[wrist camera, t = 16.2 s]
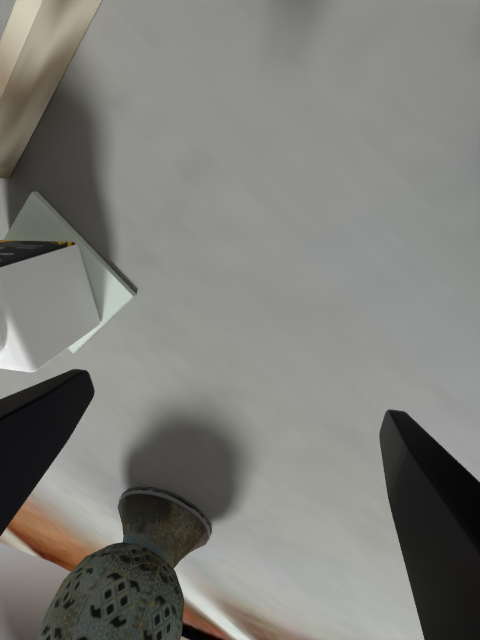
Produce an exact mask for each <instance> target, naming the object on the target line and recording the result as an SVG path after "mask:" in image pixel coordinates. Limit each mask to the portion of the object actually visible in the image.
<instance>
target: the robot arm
mask: <svg viewBox="0 0 480 640" xmlns="http://www.w3.org/2000/svg"><path fill="white" fill-rule="evenodd" d="M94 392H95V391H94V387H93V384H92V381H91V378H90V375H89V373H88V372H87V371H86V370H80V369H73V370H70V371H68V372H66V373H63V374H61V375H58V376H56V377H53V378H51V379H49V380H46V381H44V382H41V383H39V384H36V385H34V386H32V387H29V388H27V389H24V390H22V391H19V392H17V393H15V394H12V395H10V396H7V397H5V398H2V399H0V536H1V535H2V533H3V532H4V530H5V529H6V528H7V526H8V525H9V523H10V522H11V520H12V519H13V518H14V516H15V515H16V513H17V512H18V511H19V509H20V508H21V506H22V505H23V503H24V502H25V501H26V499H27V498H28V496H29V495H30V494H31V492H32V491H33V489H34V488H35V487H36V485H37V484H38V482H39V481H40V479H41V478H42V477H43V475H44V474H45V472H46V471H47V470H48V468H49V467H50V465H51V464H52V462H53V461H54V460H55V458H56V457H57V455H58V454H59V453H60V451H61V450H62V448H63V447H64V445H65V444H66V442H67V441H68V439H69V438H70V436H71V434H72V433H73V431H74V429H75V428H76V426H77V424H78V423H79V421H80V419H81V417H82V416H83V414H84V412H85V411H86V409H87V407H88V405H89V404H90V402H91V400H92V399H93V396H94ZM379 437H380V446H381V453H382V460H383V466H384V473H385V480H386V487H387V493H388V499H389V503H390V508H391V512H392V516H393V519H394V523H395V527H396V531H397V535H398V539H399V543H400V547H401V550H402V554H403V558H404V562H405V566H406V570H407V574H408V577H409V581H410V585H411V589H412V593H413V597H414V601H415V604H416V608H417V612H418V616H419V620H420V624H421V628H422V631H423V635H424V639H425V640H480V482H479V481H478V480H477V479H476V478H475V477H474V476H473V475H472V474H471V473H470V472H468V471H467V470H466V469H465V468H464V467H463V466H462V465H461V464H460V463H459V462H458V461H457V460H456V459H455V458H454V457H453V456H452V455H450V454H449V453H448V452H447V451H446V450H445V449H444V448H443V447H442V446H441V445H440V444H439V443H438V442H437V441H436V440H435V439H434V438H432V437H431V436H430V435H429V434H428V433H427V432H426V431H425V430H424V429H423V428H422V427H421V426H420V425H419V424H418V423H417V422H415V421H414V420H413V419H412V418H411V417H410V416H409V415H408V414H407V413H406V412H404V411H398V410H387V411H386V413H385V416H384V419H383V423H382V426H381V429H380V435H379Z"/></svg>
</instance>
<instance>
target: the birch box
mask: <svg viewBox="0 0 480 640" xmlns="http://www.w3.org/2000/svg"><path fill="white" fill-rule="evenodd" d="M101 1H102V0H16V3H15V5H14V8H13V10H12V13H11V16H10V18H9V21H8V23H7V26H6V28H5V31H4V34H3V36H2V39H1V41H0V178H10V176H11V174H12V172H13V171H14V169H15V167H16V165H17V163H18V161H19V159H20V157H21V155H22V153H23V151H24V149H25V147H26V146H27V144H28V142H29V140H30V138H31V136H32V134H33V132H34V130H35V128H36V126H37V124H38V122H39V121H40V119H41V117H42V115H43V113H44V111H45V109H46V107H47V105H48V103H49V101H50V99H51V97H52V95H53V94H54V92H55V90H56V88H57V86H58V84H59V82H60V80H61V78H62V76H63V74H64V72H65V70H66V69H67V67H68V65H69V63H70V61H71V59H72V57H73V55H74V53H75V51H76V49H77V47H78V45H79V43H80V42H81V40H82V38H83V36H84V34H85V32H86V30H87V28H88V26H89V24H90V22H91V20H92V18H93V17H94V15H95V13H96V11H97V9H98V7H99V5H100V3H101Z"/></svg>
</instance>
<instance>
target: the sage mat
mask: <svg viewBox="0 0 480 640" xmlns="http://www.w3.org/2000/svg"><path fill="white" fill-rule="evenodd" d="M4 240H16V241H64V242H76V243H77V244H78V246H79V248H80V252H81V255H82V259H83V262H84V266H85V269H86V273H87V276H88V280H89V283H90V287H91V290H92V294H93V297H94V301H95V304H96V308H97V311H98V315H99V318H100V324H99V326H97V327H96V328H94V329H93V330H92V331H90V332H89V333H88V334H86V335H85V336H83V337H82V338H81V339H79V340H78V341H77V342H75V343H74V344H73V345H71V346H70V347H68V349H69V350H70V351H71V352H72V353H74V352H76V351H77V350H78V349H79V348H80V347H81V346H82V345H83V344H84V343H85V342H87V341H88V340H89V339H90V338H91V337H92V336H93V335H94V334H95V333H96V332H97V331H98V330H99V329H100V328H101V327H102V326H103V325H104V324H106V323H107V322H108V321H109V320H110V319H111V318H112V317H113V316H114V315H115V314H116V313H117V312H118V311H119V310H120V309H121V308H122V307H123V306H124V305H126V304H127V303H128V302H129V301H130V300H131V299H132V298H133V297H134V296H135V295H136V293H135V292H134V291H133V290H132V289H131V288H130V287H129V286H128V285H127V284H126V283H125V282H124V281H123V280H122V279H121V278H120V276H119V275H118V274H117V273H116V272H115V271H114V270H113V269H112V268H111V267H110V266H109V265H108V264H107V263H106V262H105V261H104V260H103V259H102V258H101V257H100V256H99V255H98V254H97V253H96V252H95V251H94V249H93V248H92V247H91V246H90V245H89V244H88V243H87V242H86V241H85V240H84V239H83V238H82V237H81V236H80V235H79V234H78V233H77V232H76V231H75V230H74V229H73V228H72V227H71V226H70V225H69V224H68V223H67V221H66V220H65V219H64V218H63V217H62V216H61V215H60V214H59V213H58V212H57V211H56V210H55V209H54V208H53V207H52V206H51V205H50V204H49V203H48V202H47V201H46V200H45V199H44V198H43V197H42V196H41V194H40V193H39V192H38V191H35V192H31V194H30V195H29V197H28V199H27V201H26V202H25V204H24V206H23V207H22V209H21V211H20V213H19V214H18V216H17V218H16V219H15V221H14V223H13V225H12V226H11V228H10V230H9V231H8V233H7V235H6V237H5V238H4Z"/></svg>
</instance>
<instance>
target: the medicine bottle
mask: <svg viewBox="0 0 480 640" xmlns="http://www.w3.org/2000/svg"><path fill="white" fill-rule="evenodd" d="M99 324H100V318H99V315H98V311H97V308H96V304H95V301H94V297H93V294H92V290H91V287H90V283H89V280H88V276H87V273H86V269H85V266H84V262H83V259H82V255H81V252H80V248H79V246H78V244H77V243H76V242H64V241H16V240H1V241H0V368H2V369H9V370H17V371H25V372H35V371H37V370H38V369H40V368H41V367H42V366H44V365H45V364H47V363H48V362H49V361H51V360H52V359H53V358H55V357H56V356H58V355H59V354H60V353H62V352H63V351H64V350H66V349H67V348H68V347H70V346H71V345H73V344H74V343H75V342H77V341H78V340H79V339H81V338H82V337H83V336H85V335H86V334H88V333H89V332H90V331H92V330H93V329H94V328H96V327H97V326H99Z"/></svg>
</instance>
